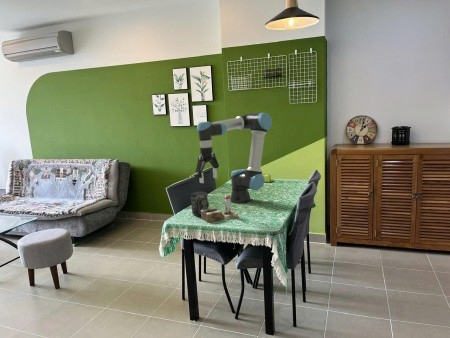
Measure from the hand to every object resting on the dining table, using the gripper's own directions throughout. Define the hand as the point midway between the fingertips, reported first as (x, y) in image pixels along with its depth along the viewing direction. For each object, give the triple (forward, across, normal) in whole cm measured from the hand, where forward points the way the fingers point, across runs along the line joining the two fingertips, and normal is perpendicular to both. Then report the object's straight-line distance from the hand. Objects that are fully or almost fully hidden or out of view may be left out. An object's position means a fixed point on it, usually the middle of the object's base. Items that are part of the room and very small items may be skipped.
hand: (208, 180), depth 213 cm
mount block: (+24, -6, +9) cm, 26 cm away
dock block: (+24, +3, +2) cm, 24 cm away
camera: (+24, 0, -9) cm, 26 cm away
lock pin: (+24, -6, +9) cm, 26 cm away
